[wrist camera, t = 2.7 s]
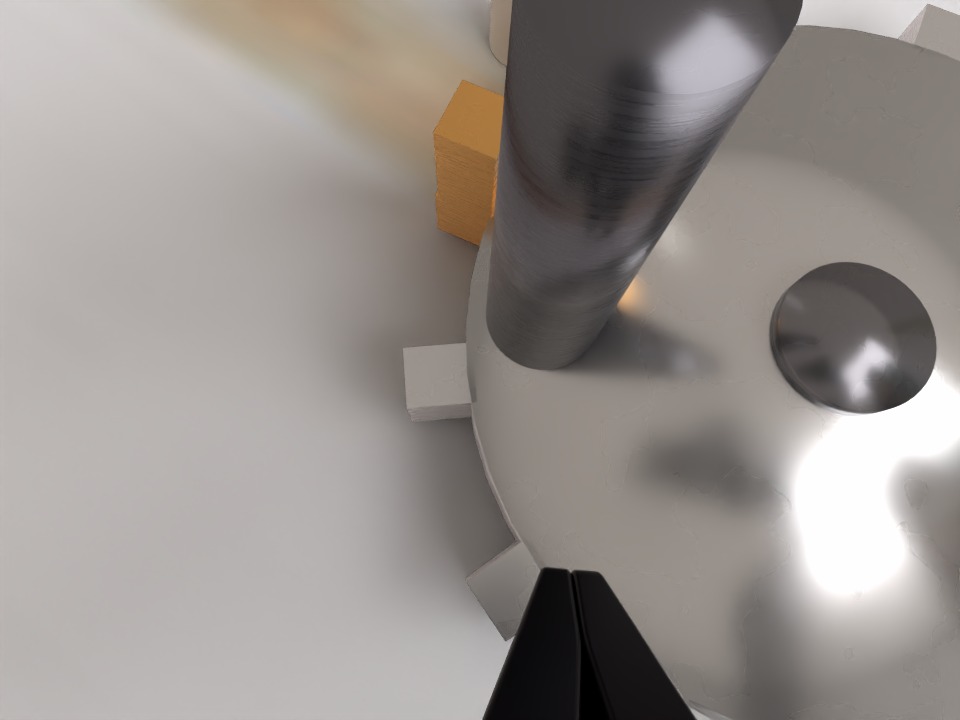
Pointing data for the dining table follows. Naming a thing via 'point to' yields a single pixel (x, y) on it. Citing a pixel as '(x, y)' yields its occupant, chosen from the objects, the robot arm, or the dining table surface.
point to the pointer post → (500, 28)
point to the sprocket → (720, 341)
